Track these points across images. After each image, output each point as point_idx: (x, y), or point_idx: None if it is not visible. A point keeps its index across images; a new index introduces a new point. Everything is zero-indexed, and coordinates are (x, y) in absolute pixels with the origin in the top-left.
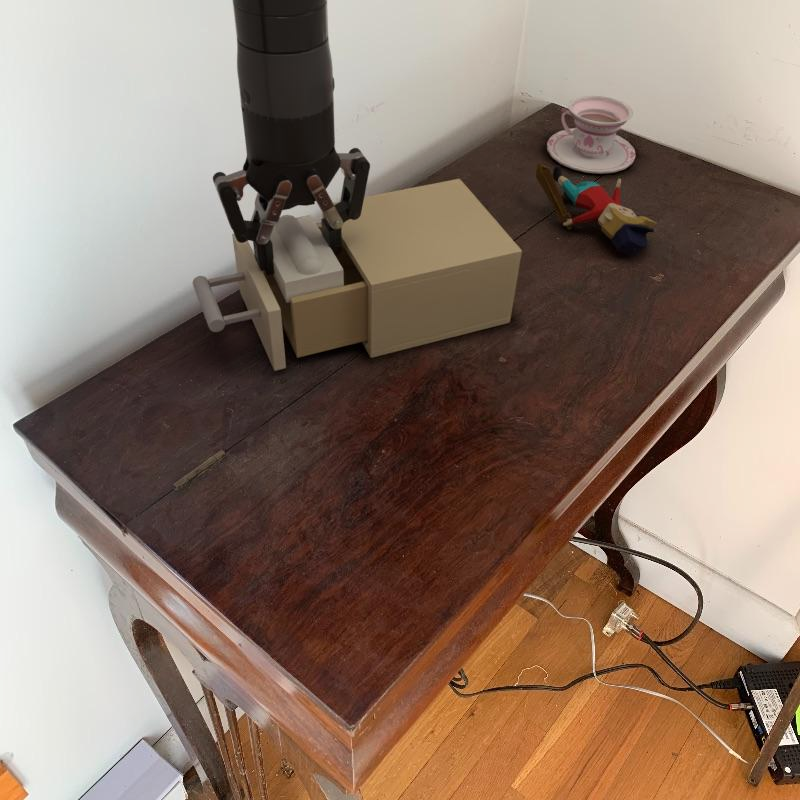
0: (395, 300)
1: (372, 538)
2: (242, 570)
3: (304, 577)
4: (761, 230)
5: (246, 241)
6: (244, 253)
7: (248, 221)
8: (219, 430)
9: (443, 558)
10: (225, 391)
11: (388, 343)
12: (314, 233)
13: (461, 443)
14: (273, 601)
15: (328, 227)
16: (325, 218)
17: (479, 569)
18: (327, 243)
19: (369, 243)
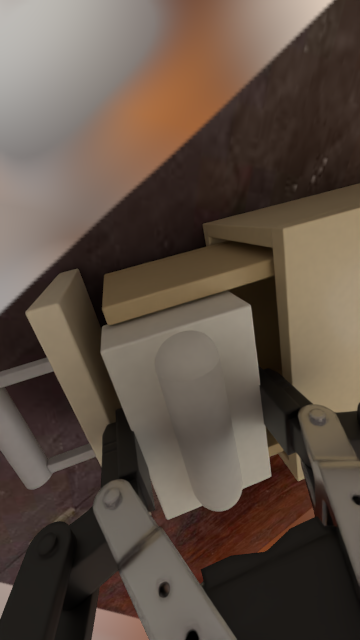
0: None
1: (195, 548)
2: (102, 584)
3: None
4: None
5: (72, 347)
6: (72, 392)
7: (93, 556)
8: (64, 489)
9: (236, 549)
10: (63, 443)
11: None
12: (244, 381)
13: (277, 473)
14: (125, 594)
15: (291, 442)
16: (298, 435)
17: (254, 550)
18: (263, 415)
19: (331, 384)
